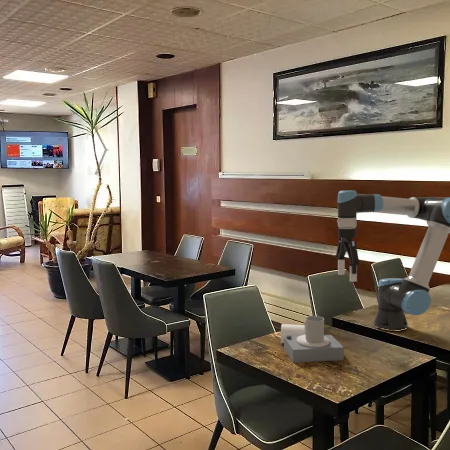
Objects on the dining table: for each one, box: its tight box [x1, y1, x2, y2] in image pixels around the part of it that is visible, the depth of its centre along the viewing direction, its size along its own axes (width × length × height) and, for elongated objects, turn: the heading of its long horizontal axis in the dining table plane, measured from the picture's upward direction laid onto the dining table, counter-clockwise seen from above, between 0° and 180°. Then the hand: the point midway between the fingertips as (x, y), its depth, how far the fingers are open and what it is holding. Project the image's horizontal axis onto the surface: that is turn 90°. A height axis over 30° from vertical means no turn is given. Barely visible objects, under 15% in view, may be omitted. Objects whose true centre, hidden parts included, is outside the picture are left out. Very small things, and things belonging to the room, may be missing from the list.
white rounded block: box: [280, 323, 306, 344], centre depth 210 cm, size 12×10×8 cm
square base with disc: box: [283, 334, 345, 363], centre depth 195 cm, size 20×15×6 cm
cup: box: [304, 315, 325, 343], centre depth 194 cm, size 7×10×9 cm
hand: (347, 278), depth 204 cm, fingers open, 13 cm apart
